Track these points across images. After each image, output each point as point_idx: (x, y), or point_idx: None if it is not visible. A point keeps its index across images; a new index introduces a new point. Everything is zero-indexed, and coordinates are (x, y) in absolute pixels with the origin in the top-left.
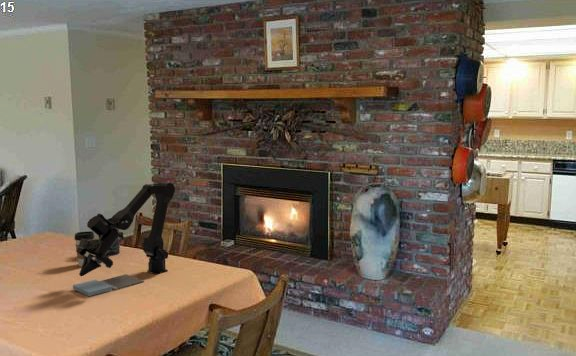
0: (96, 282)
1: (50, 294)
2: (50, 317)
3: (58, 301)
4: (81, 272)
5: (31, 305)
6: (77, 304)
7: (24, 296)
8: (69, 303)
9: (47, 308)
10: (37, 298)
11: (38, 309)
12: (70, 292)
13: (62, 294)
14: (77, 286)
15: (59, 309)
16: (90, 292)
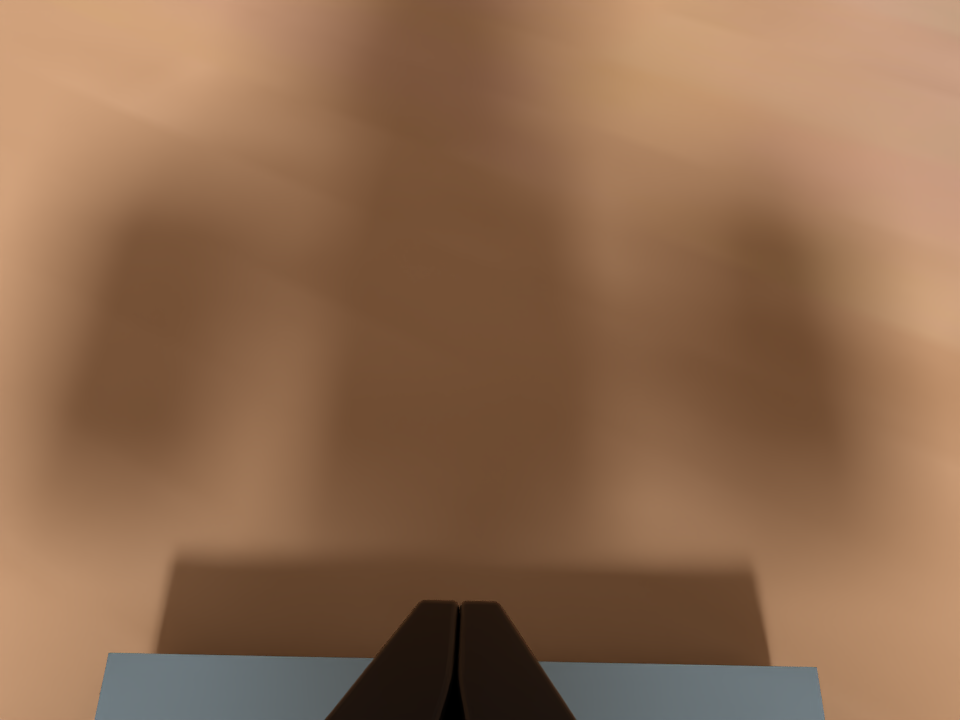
0: None
1: (794, 313)
2: (21, 10)
3: (415, 259)
4: (404, 650)
5: (543, 29)
6: (63, 369)
7: (929, 90)
8: (207, 316)
9: (297, 88)
10: (742, 149)
11: (355, 26)
12: (672, 567)
13: (667, 428)
14: (659, 691)
15: (136, 150)
16: (105, 700)
